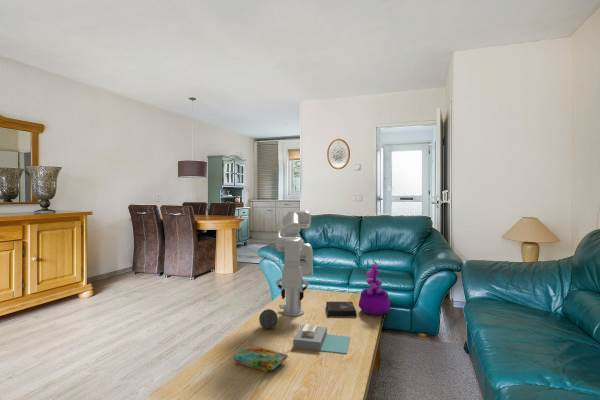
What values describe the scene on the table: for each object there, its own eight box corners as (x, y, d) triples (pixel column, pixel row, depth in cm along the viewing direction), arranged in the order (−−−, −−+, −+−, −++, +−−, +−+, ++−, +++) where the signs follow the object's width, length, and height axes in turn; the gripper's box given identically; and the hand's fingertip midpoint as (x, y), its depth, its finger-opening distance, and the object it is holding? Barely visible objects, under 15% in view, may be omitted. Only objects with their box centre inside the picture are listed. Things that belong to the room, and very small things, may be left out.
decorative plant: (374, 320, 189) (374, 268, 188) (352, 311, 204) (352, 262, 204) (396, 314, 199) (396, 264, 198) (374, 305, 214) (374, 259, 214)
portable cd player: (356, 317, 195) (356, 310, 195) (328, 317, 195) (328, 310, 195) (353, 307, 211) (353, 301, 211) (326, 307, 212) (326, 301, 212)
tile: (302, 335, 159) (302, 330, 159) (305, 329, 167) (305, 324, 167) (314, 336, 157) (314, 331, 157) (317, 330, 165) (317, 325, 165)
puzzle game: (249, 342, 150) (287, 352, 141) (249, 352, 151) (287, 363, 141) (233, 353, 140) (272, 364, 131) (233, 364, 140) (272, 376, 131)
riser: (293, 347, 155) (293, 339, 155) (302, 332, 172) (302, 324, 172) (320, 351, 152) (320, 342, 152) (326, 334, 169) (326, 327, 169)
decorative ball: (255, 329, 176) (255, 311, 176) (265, 323, 185) (265, 305, 184) (271, 333, 171) (271, 314, 171) (281, 326, 180) (281, 308, 180)
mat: (320, 351, 152) (320, 350, 152) (326, 334, 169) (326, 334, 169) (346, 354, 149) (346, 353, 149) (350, 337, 166) (350, 336, 166)
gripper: (273, 264, 162) (273, 299, 162) (307, 266, 158) (307, 302, 158) (277, 261, 169) (278, 295, 170) (311, 263, 165) (311, 297, 166)
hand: (292, 298), depth 164 cm, fingers open, 8 cm apart
